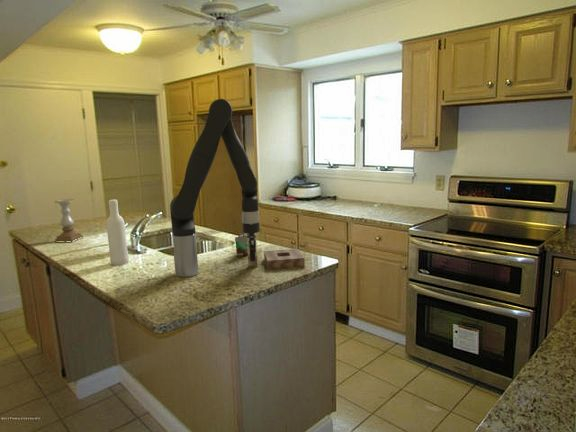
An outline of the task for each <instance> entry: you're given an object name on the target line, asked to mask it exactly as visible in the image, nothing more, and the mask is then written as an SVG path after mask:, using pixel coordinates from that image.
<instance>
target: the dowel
mask: <svg viewBox="0 0 576 432" xmlns="http://www.w3.org/2000/svg"><path fill="white" fill-rule="evenodd" d="M249 245H250V244H249ZM257 246H258V245H257V244H256V252H255V261H250V252H249V251H250V248H249V247H248V241H247V249H248V256H247V266H248V268H249V269H250V268H251V269H254V268H257V267H258V249H257ZM251 250H254V248H251Z"/></svg>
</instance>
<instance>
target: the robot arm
mask: <svg viewBox="0 0 576 432" xmlns="http://www.w3.org/2000/svg"><path fill="white" fill-rule="evenodd" d="M232 115H233V108H232V105H231V103H230V102H229V101H228V100H227V99H225V98H218V99H214V101H212V102H211V104H210V105H209V108H208V113H207V118H206V122H205V125H204V127H203V129H202V132H201V134H200V135H199V137H198V139H197V141H196V143H195V144H194V147H193V148H192V150H191V153H190V156H189V159H188V161H187V164H186V165H187V166H186V168H185V173H184V178H183V183H182V185H181V188H180V190H179V192H178V194H177V196H174V197H173V198H172V200H171V201H170V204H169V211H170V212H169V213H170V221H171V230H172V238H173V239H172V240H173V242H172V243H173V251H174V252H173V262H174V275H175V277H180V278H188V277H189V278H190V277H194V276H195V275H198V274H199V262H198V261H199V260H198V248H197V247H198V246H197V245H198V244H197V234H196V226H195V224H196V223H195V220H194V218H195V217H194V213H195V209H196V207H197V206H196V205H197V202H198V198H199V195H200V192H201V189H202V188H203V186H204V183H205V181H206V180H207V176H208V175H209V172H210V170H211V168H212V165H213V163H214V160H215V157H216V155H217V152H218V149H219V144H220V142H221V141H220V140H221V138H222V141H223V143H224V146H225V148H226V151H227V154H228V157H229V159H230V161H231V164H232V167H233V169H234V170H235V173H236V176H237V179H238V182H239V184H240V185H239V186H240V187H241V197H242V199H241V224H242V225H241V228H242V232H244V233H248V236H247V241H248V247H249V248H250V251H249V252H250V261H255V252H256V245H257V235H256V234H257V233H259V232H261V226H260V225H261V224H260V213H259V200H258V180H257V178H256V176H255V174H254V172H253V169H252V167H251V163H250V160H249V157H248V155H247V152H246V149H245V148H244V146H243V144H242V141H241V139H240V138H239V137H238V136H239V135H238V134H237V132H236V130H235V126H234V124H233V120H232ZM255 233H256V234H255ZM249 244H250V245H249ZM251 248H254V250H251Z"/></svg>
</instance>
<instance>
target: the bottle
mask: <svg viewBox="0 0 576 432" xmlns="http://www.w3.org/2000/svg"><path fill="white" fill-rule="evenodd" d="M118 203H119V202H118V199H110V200H108V205H109V206H108V207H109V213H110V214H109V216H108V218H107V219H106V222H105V223H106V234H107V241H108V242H107V243H108V248H109V250H108V251H109V261H110V265H111V264H112V265H111V266H114V265H119V266H123V265H122V264H124V265H127V264H129V253H128V242H127V233H126V224H125V220H124V218H123V217H122V216H121V214H119V205H118ZM126 263H127V264H126Z"/></svg>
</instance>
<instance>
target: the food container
mask: <svg viewBox="0 0 576 432" xmlns="http://www.w3.org/2000/svg"><path fill="white" fill-rule="evenodd" d="M247 236H248V233H244V232H243V231H242V233H241V234H239V235H238V236H235V237H234V242H235V248H236V249H235V251H236V257H237V258H240V257H241V258H242V257H248V249H247Z"/></svg>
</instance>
